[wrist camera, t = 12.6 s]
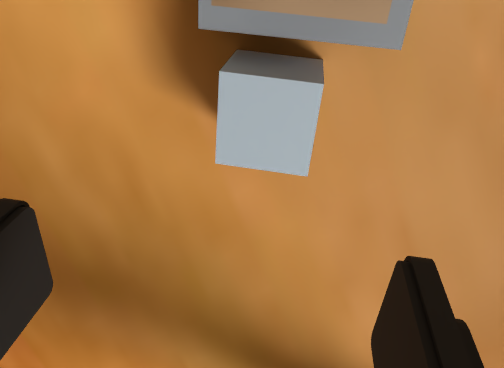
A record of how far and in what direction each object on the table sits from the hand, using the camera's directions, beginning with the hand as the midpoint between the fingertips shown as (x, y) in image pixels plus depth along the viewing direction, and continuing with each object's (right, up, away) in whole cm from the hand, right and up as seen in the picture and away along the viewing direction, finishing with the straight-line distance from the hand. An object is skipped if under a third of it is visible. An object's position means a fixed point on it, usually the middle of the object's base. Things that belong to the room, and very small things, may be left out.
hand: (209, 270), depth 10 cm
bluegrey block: (+2, +8, +14) cm, 16 cm away
